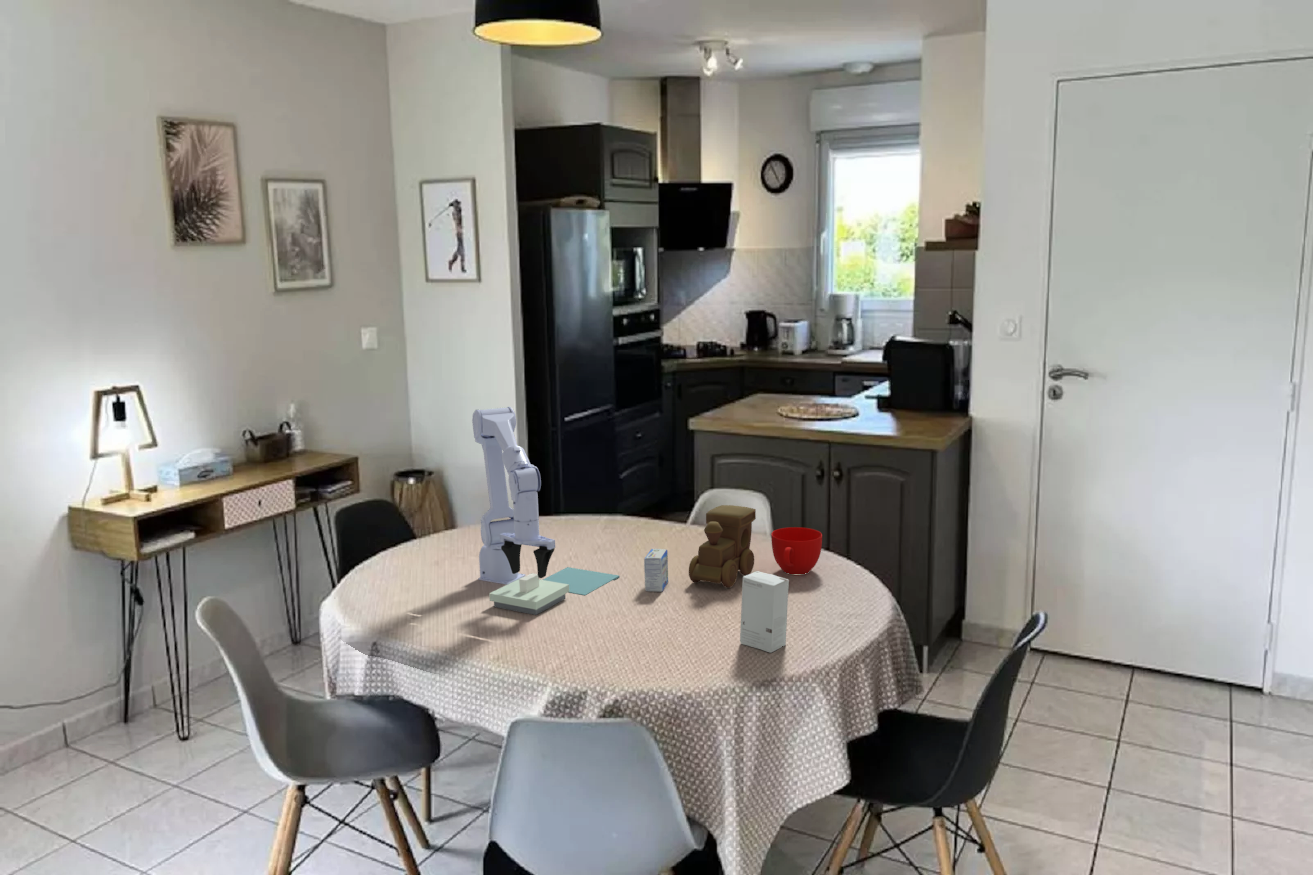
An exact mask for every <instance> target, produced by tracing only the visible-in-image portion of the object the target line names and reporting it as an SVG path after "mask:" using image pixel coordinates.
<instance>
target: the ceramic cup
mask: <svg viewBox="0 0 1313 875" xmlns="http://www.w3.org/2000/svg"><path fill="white" fill-rule="evenodd" d="M770 537H771V549H772V550H771V551H772V555H773V557H774V560H775V562H776V564H777V565H778V566H779V567H780V569H781V570H782V571H783V573H784V572H786V573H789V574H805V573H808V572H809V571H812V570H813V569H814V567H815V566H816V564H817V563H818V561H819V559H820V556H821V551H822V548H823V547H822V546H823V545H822V544H823V534H822V532H821V531H819V530H817V529H814V528H808V527H800V526H799V527H797V526H794V527H792V526H791V527H782V528H778V529H775V530H773V531H772V532H771V534H770ZM786 573H785V574H786ZM809 573H810V572H809ZM809 573H808V574H809ZM789 574H788V575H789ZM805 575H806V574H805Z"/></svg>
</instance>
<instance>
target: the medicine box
mask: <svg viewBox="0 0 1313 875" xmlns="http://www.w3.org/2000/svg"><path fill="white" fill-rule="evenodd" d="M668 555H669V554H668V549H665V548H651V549H650V550H649V552H648V553H647V554H646V556H645V557H644V559H643V569H644V571H643V572H644V589H645V592H651V593H653V592H654V593H655V592H656V593H663V591H664V589H665V588H666V586H667V584H668V583H669V564H668V562H669V558H668Z"/></svg>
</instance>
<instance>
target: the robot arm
mask: <svg viewBox="0 0 1313 875" xmlns="http://www.w3.org/2000/svg"><path fill="white" fill-rule="evenodd" d="M471 422H472V430H473V438H474V441H475V443H478V444H480V445H481V448H482V452H483V459H484V468H485V475H486V484H487V491H488V500H489V501H488V502H489V508H488V510H487V511H486V512H484V514H482V515H481V517H480V536H481V538H480V539H481V541H482V542H481V543H483V545H482V546H481V548H480V550H479V556H478V561H479V562H478V564H479V577H478V580H479V581H484V582H488V583H489V582H490V583H495V584H496V583H497V584H502V585H505V586H506V585H508V584H510V583H512V582H514V581H516V580H518V579H520V578H522V577H525V576H527V575H526V573H525V574H524V573H520V571H521V549H522V545H523V546H529V547H538V548H537V549H534V550H533V555H534V558H535V561H536V569H537V574H538V577H539V579H544V577H545V578H546V576H547V572H548V567H549V565H550V564H549V563H550V560H551V558H552V555H553V553H554V552H555V548H556V539H553V538H550V537H549V538H548V537H546V536H543V535H541V534H540V522H539V521H540V520H539V519H540V518H539V517H540V516H539V498H538V497H539V496H538V492H540V491H541V486H542V480H541V479H542V478H541V473H540V471H539V468H538V467H537V466H535V465H534V464H531V462H530V459H529V457H528V455H527V454H526V450H525V449H524V447H522V446H519V445H518V443H517V439H516V437H515V433H514V432H515V429H516V425H517V418H516V413H515V411H514V409H513V407H512V406H507V407H499V408H498V407H497V408H496V407H495V408H486V409H485V408H484V409H475V410H474V412H473V413H472V420H471ZM505 470H506V471H505ZM506 472H507V474H508V487H509V491H510V498H511V501H512V502H513V503H512V505H513V506H512V507H513V508H512V507H511V506H510V503H509V495H508V488H507V480H506V479H507V478H506ZM505 518H507V519H505ZM508 518H509V519H508ZM499 519H501V520H499Z"/></svg>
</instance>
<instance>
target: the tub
mask: <svg viewBox="0 0 1313 875" xmlns="http://www.w3.org/2000/svg"><path fill="white" fill-rule="evenodd" d="M564 600H566V594H564V595H562V596H561V597H559V598H557V599H555V600H553V601H551V602H550V603H548V604H546V605H544V606H542V607H540V608H538V609H537V610H535V609H530V608H525V607H520V606H514V605H509V604H504V603H499V602H494V601H493V607H494V608H497V609H503V610H508V611H513V612H519V613H523V614H529V615H533V616H537V615H538V614H540V613H543V612H544V611H547V610H548V609H549V608H552V607H553V606H554V605H557V604H558V603H561V602H563V601H564Z"/></svg>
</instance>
